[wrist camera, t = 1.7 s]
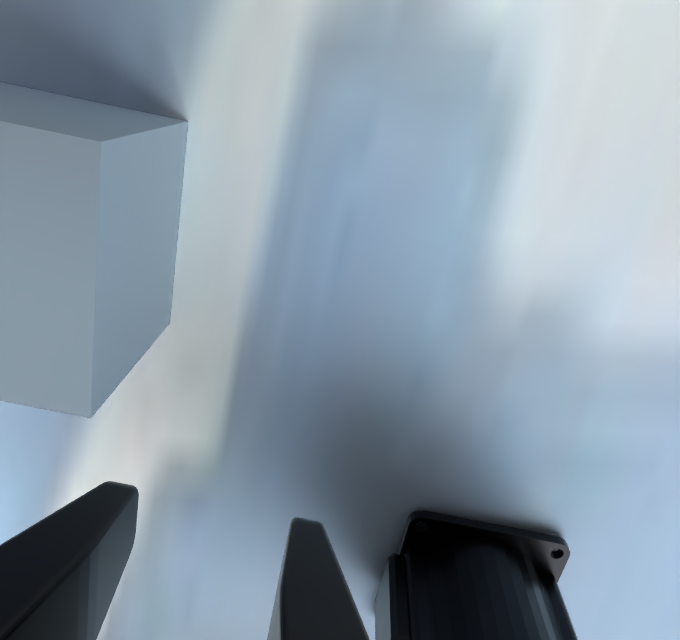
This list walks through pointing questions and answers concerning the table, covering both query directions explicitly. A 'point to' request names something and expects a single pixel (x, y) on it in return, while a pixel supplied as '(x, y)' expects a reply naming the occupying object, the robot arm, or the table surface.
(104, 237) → the block
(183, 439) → the table surface
